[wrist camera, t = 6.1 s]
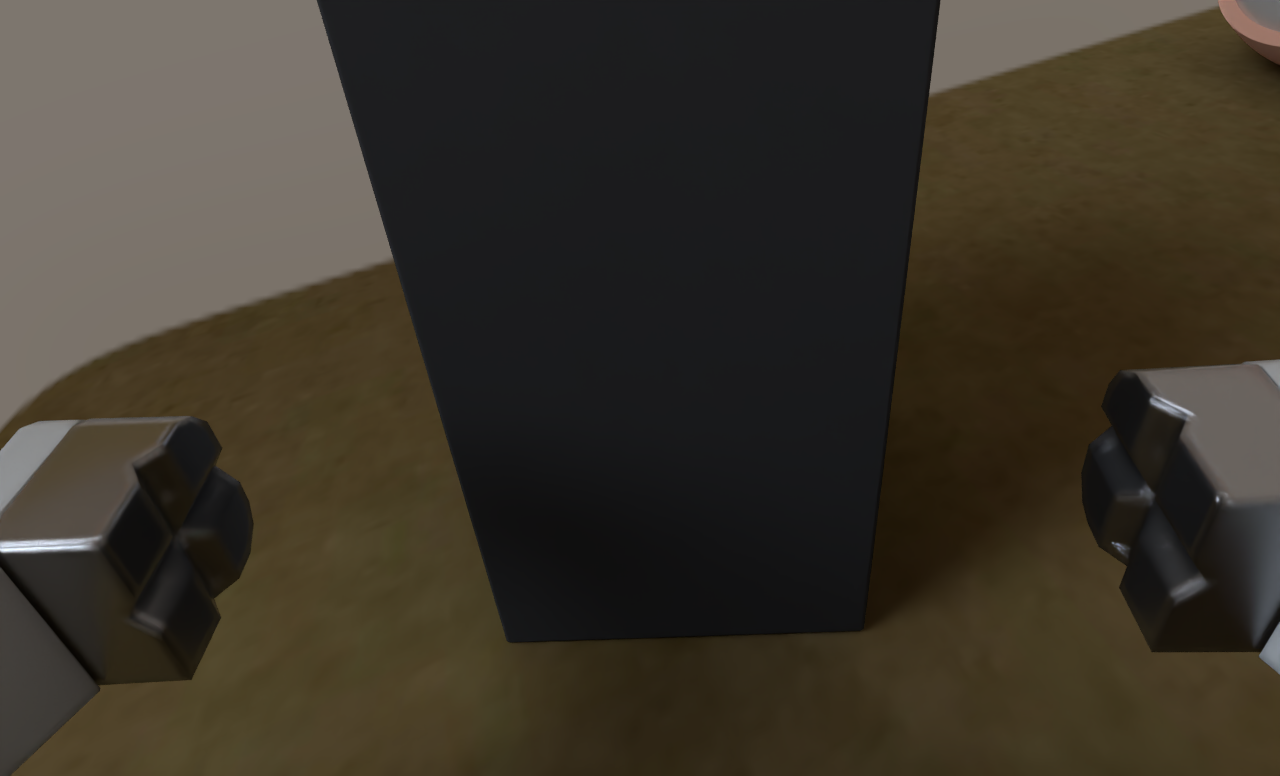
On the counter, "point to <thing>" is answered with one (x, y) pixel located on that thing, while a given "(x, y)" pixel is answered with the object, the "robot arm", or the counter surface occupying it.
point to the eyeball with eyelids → (1256, 24)
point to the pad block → (653, 289)
